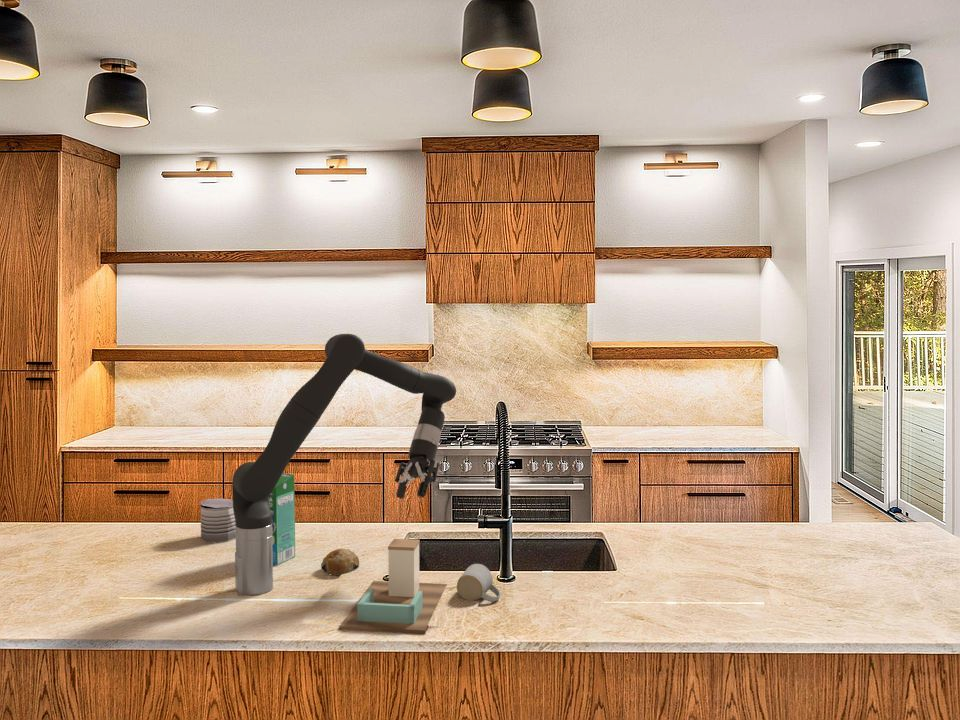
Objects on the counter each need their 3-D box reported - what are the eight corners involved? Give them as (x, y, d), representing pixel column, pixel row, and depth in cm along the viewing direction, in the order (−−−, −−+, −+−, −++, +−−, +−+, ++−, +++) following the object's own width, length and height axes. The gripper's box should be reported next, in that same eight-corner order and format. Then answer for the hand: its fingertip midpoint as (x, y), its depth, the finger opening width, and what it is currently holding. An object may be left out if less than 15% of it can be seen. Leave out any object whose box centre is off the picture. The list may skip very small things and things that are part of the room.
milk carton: (251, 562, 223) (249, 477, 221) (270, 553, 231) (269, 471, 230) (276, 566, 219) (275, 480, 218) (295, 556, 228) (294, 473, 226)
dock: (369, 604, 188) (369, 588, 188) (422, 607, 187) (422, 591, 187) (357, 620, 178) (357, 604, 178) (413, 623, 177) (413, 606, 176)
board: (373, 583, 205) (373, 580, 205) (446, 587, 203) (446, 584, 203) (339, 629, 176) (339, 625, 175) (425, 633, 173) (425, 630, 173)
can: (211, 532, 253) (210, 496, 252) (243, 533, 252) (243, 497, 251) (193, 542, 242) (193, 504, 241) (227, 544, 240) (227, 506, 240)
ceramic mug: (454, 601, 193) (455, 571, 192) (465, 590, 201) (465, 561, 200) (494, 607, 190) (495, 576, 189) (503, 595, 197) (504, 566, 197)
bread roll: (344, 590, 211) (356, 565, 209) (312, 572, 212) (324, 547, 211) (357, 578, 220) (368, 554, 219) (327, 560, 222) (337, 537, 221)
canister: (394, 586, 201) (394, 538, 200) (419, 587, 200) (419, 539, 199) (388, 596, 194) (387, 546, 193) (414, 597, 193) (414, 547, 192)
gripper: (399, 440, 219) (383, 493, 212) (433, 435, 210) (417, 490, 202) (417, 450, 224) (402, 503, 216) (451, 446, 214) (437, 501, 207)
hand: (409, 497), depth 209 cm, fingers open, 8 cm apart
